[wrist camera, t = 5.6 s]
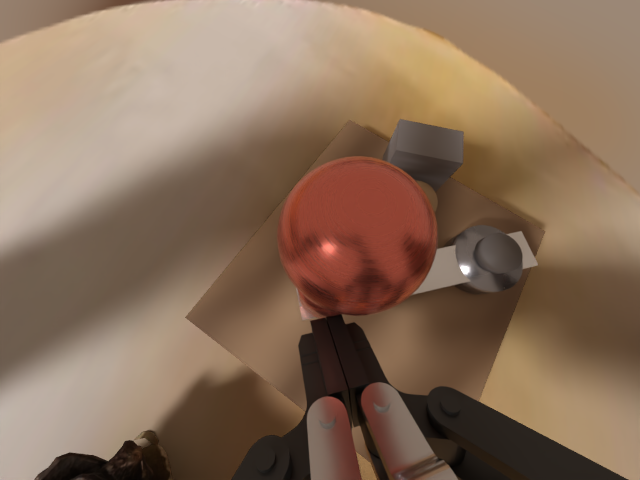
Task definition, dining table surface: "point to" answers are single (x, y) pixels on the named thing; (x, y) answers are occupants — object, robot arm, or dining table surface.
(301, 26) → the dining table surface
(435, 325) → the base
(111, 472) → the pine cone
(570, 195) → the dining table surface
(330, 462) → the robot arm
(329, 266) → the lever
